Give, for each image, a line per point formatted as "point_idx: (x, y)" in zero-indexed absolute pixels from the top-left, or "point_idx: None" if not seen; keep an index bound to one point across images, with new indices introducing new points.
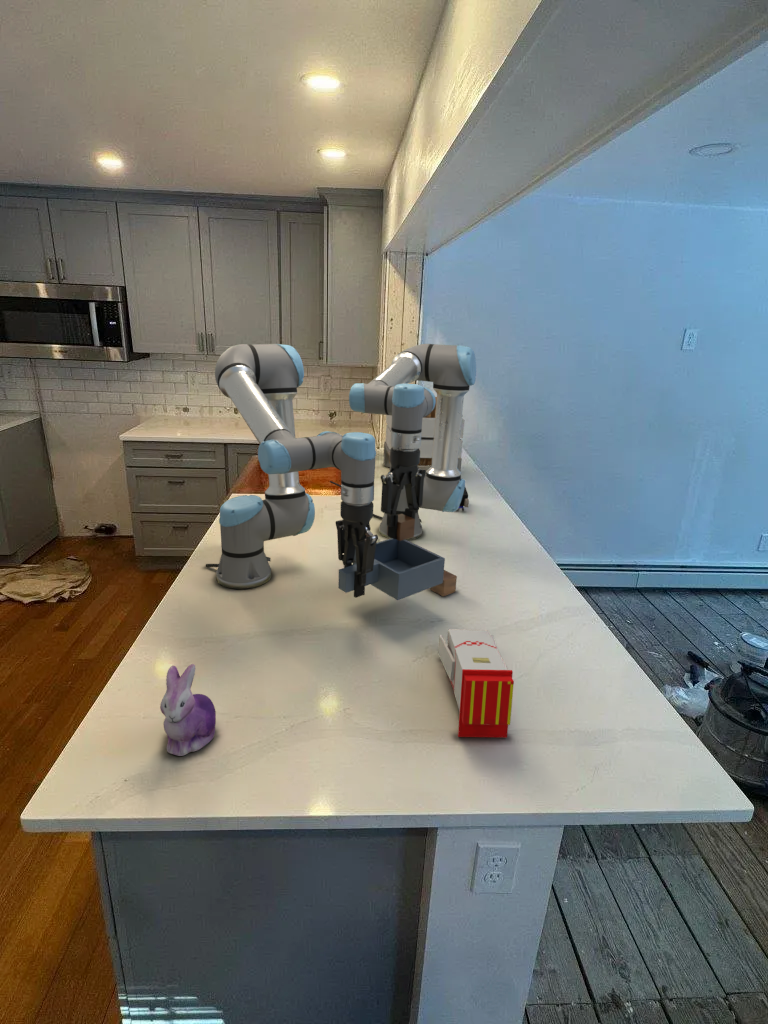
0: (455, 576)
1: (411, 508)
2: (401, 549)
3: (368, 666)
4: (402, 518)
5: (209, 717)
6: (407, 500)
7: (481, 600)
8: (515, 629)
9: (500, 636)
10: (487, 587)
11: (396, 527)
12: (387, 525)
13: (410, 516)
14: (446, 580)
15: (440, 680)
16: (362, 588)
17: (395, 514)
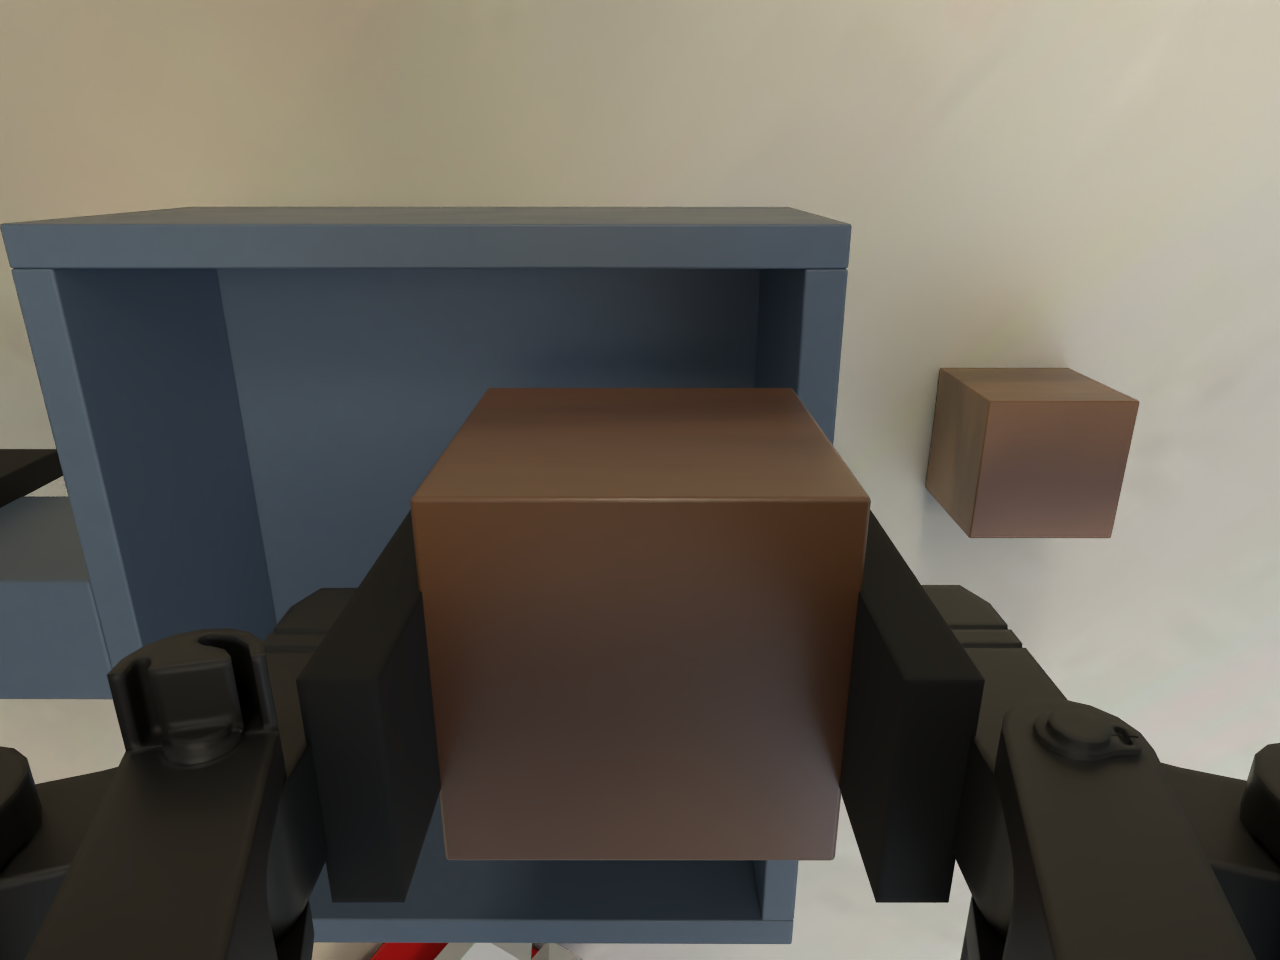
0: (1095, 537)
1: (969, 851)
2: (778, 326)
3: (92, 740)
4: (643, 723)
5: None
6: (1038, 918)
7: (1068, 651)
8: (921, 911)
9: (807, 907)
10: (1262, 567)
11: None
12: (318, 598)
13: (843, 766)
14: (988, 537)
15: (327, 954)
16: None
17: (368, 851)
